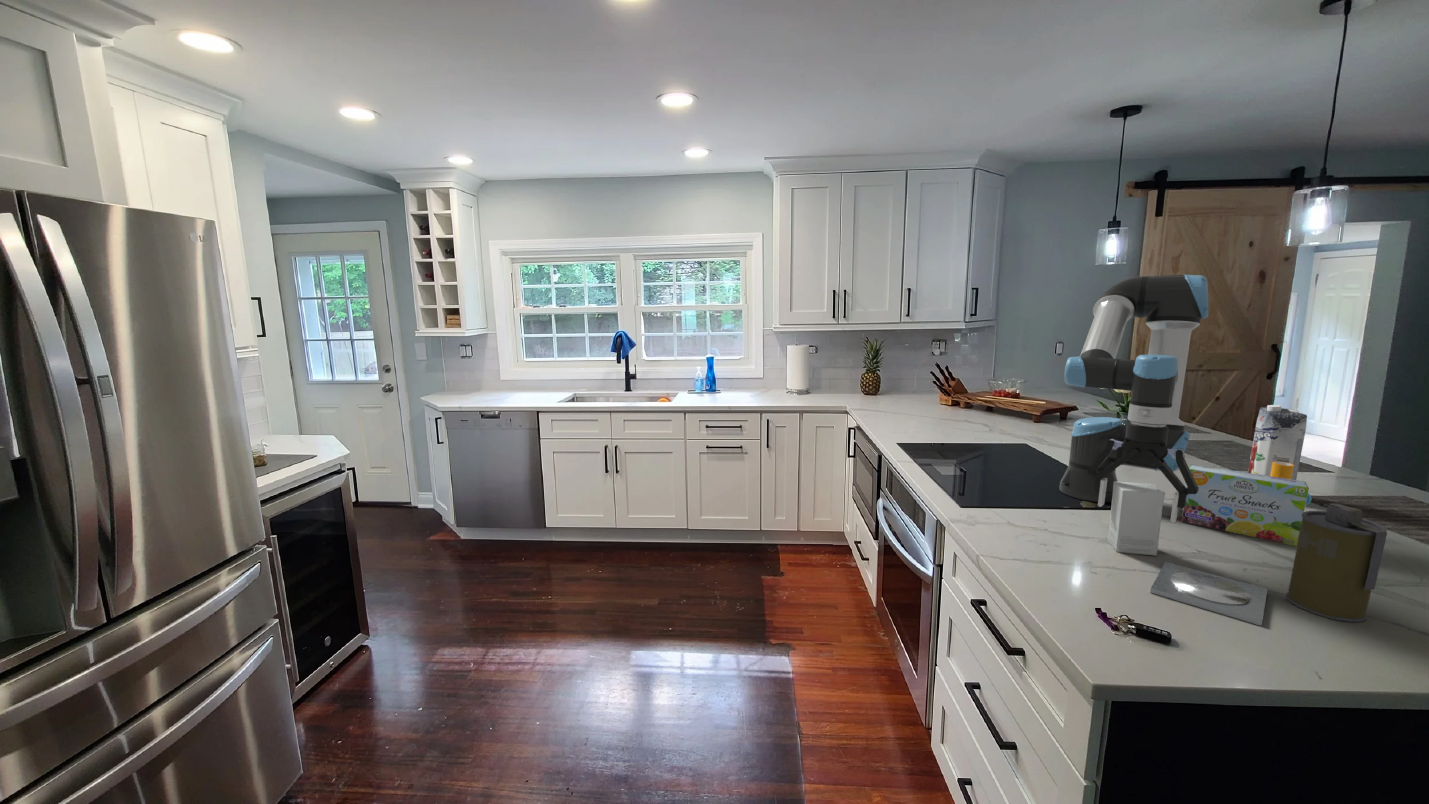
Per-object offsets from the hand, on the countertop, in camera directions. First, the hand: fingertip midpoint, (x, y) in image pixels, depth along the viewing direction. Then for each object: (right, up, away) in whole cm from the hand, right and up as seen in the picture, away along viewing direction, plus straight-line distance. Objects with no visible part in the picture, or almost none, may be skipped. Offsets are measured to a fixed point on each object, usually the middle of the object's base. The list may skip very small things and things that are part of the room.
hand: (1135, 512), depth 127 cm
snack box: (+34, -7, +11) cm, 36 cm away
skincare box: (0, -9, +2) cm, 9 cm away
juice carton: (+66, -2, +35) cm, 75 cm away
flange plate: (+1, -13, -18) cm, 22 cm away
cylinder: (+51, -5, +19) cm, 55 cm away
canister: (+18, -14, -23) cm, 32 cm away
